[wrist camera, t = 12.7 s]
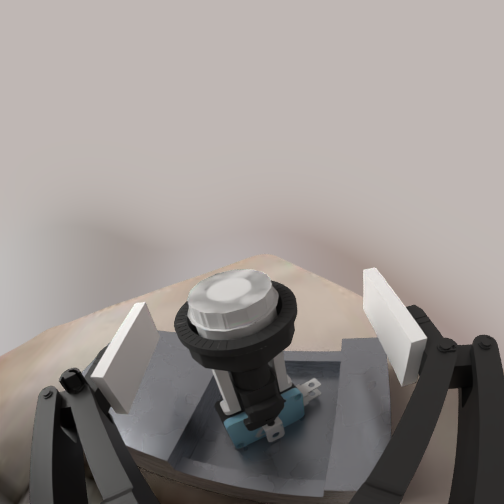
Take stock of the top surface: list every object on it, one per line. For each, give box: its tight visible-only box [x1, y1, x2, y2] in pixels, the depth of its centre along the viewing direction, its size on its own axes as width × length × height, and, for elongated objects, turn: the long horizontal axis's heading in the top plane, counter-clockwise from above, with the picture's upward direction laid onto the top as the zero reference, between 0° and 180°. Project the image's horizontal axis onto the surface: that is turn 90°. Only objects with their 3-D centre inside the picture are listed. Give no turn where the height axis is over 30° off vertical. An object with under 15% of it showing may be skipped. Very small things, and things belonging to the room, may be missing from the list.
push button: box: [174, 269, 321, 448], centre depth 14 cm, size 7×5×10 cm
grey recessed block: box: [82, 331, 391, 504], centre depth 17 cm, size 22×11×4 cm, turn 74°
